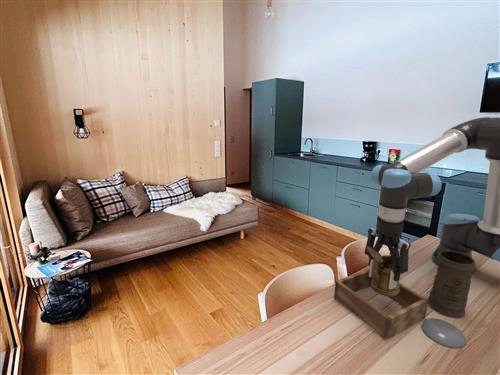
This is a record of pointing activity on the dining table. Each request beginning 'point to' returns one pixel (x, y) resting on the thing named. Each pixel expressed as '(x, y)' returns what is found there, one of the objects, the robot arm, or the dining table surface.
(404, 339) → the dining table surface
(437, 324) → the coaster
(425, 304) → the wooden frame
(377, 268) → the wooden mug
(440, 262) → the beer stein
